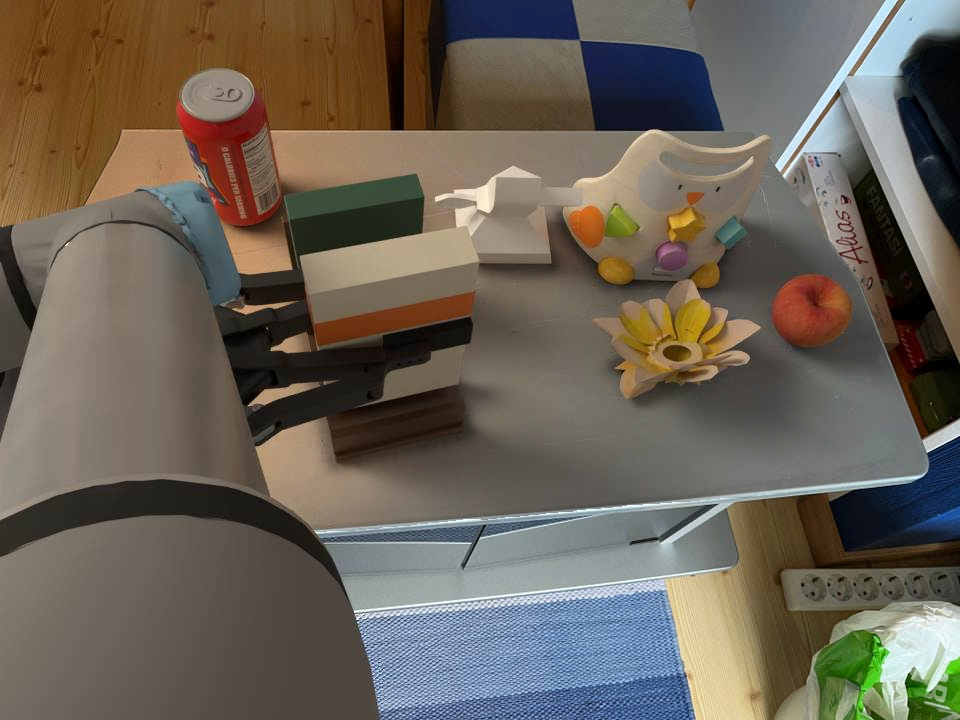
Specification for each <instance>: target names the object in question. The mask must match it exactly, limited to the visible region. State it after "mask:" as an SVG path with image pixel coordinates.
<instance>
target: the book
mask: <svg viewBox="0 0 960 720" xmlns="http://www.w3.org/2000/svg"><path fill="white" fill-rule="evenodd" d="M300 261H301V266H302V272H303V277H304V282H305V291H306V297H307V302H308V307H309V312H310V316H311V320H312V324H313V329H314V334H315V339H316V345H317V350H318V351H322V350H335V349H348V348H361V347H374V346H380V347H382V348H383V335H386V334H390V333H395V332H400V331H405V330H409V329H414V328H419V327H424V326H428V325H433V324H438V323H443V322H447V321H452V320H457V319H462V318H466V317H472V316H471V315H472V314H473V309H474V304H475V298H476V286H477V279H478V275H479V268H480V264H481V263H480V261H479V258H478V255H477V252H476V250H475V247H474V244H473V241H472V239H471V236H470V233H469V230H468V228H467V226H461V227H456V226H455V227H450V228H445V229H440V230H433V231H428V232H423V234H417V235H412V236H406V237H401V238H395V239H389V240H384V241H378V242H373V243H367V244H362V245H356V246H351V247H345V248H340V249H334V250H329V251H323V252H318V253H312V254H307V255H301V256H300ZM466 345H467V344H465V345H461V346H456V347H451V348H447V349H442V350H438V351H433V352H431V360H429V361H428V362H426V363H425V364H420V365H416V366H411V367H407V368H402V369H398V370H393V371H391V372H389V373H388V374H387V375H386V377H385V383H384V394H383V397H382V398H381V399H379V400H377V401H374V402H371V403H368V404H364V405H361V406H365V405H369V404H374V403H378V402H382V401H387V400H391V399H395V398H400V397H404V396H408V395H413V394H417V393H421V392H426V391H430V390H434V389H439V388H443V387H447V386H451V387H452V386H456V385H459V384H460V379H461V374H462V368H463V361H464V356H465V350H466ZM336 381H339V380H335V381H324V385H326V384H329V383H333V382H336ZM361 406H358V407H361ZM355 408H356V407H355Z"/></svg>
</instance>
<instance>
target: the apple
mask: <svg viewBox="0 0 960 720" xmlns="http://www.w3.org/2000/svg"><path fill="white" fill-rule="evenodd" d="M853 310H854V309H853V303H852V299H851V298H850V295H849V293H848V292H847V291H846V290H845V288H844V287H843V286H841V284H839V283H838V282H837V281H836V280H834V279H833V278H831V277H828V276H826V275H822V274H817V273H807V274H806V273H805V274H801V275H798V276H795V277H793V278H792V279H790V280H788V281H787V282H786V283H785V284H783V285H782V287H781V288H780V289H779V290H778V292H777V294H776V296H775V297H774V300H773V303H772V309H771V318H772V319H771V320H772V323H773V327H774V329H775V331H776V332H777V333H778V335H779V336H780V337H781V338H782V339H783V340H784V341H786V342H787V343H788V344H790V345H793V346H796V347H800V348H814V347H819V346H824V345H826V344H829V343H831V342H832V341H834V340H835V339H838V337H840V336H841V335H842V334H843V333H844V332H845V330H846V329H847V327H849V324H850V322H851V320H852V317H853Z"/></svg>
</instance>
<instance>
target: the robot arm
mask: <svg viewBox="0 0 960 720" xmlns="http://www.w3.org/2000/svg"><path fill="white" fill-rule="evenodd" d="M284 303H289V304H285V305H283V306H280V307H276V308H274V307H272V306H271V307H270V306H269V305H275V304H284ZM266 305H267V306H269V307H264V308H262V309H258V310H255V311H253V312H249V313H243V312H241V311H242V310H244V308H245V306H251V307H252V306H253V307H254V306H255V307H257V306H266ZM235 309H237V310H235ZM238 310H239V311H238ZM240 310H241V311H240ZM474 326H475V325H474V322H473V320H472V316H470V317H466V318H462V319H457V320H452V321H447V322H443V323H438V324H433V325H428V326H424V327H419V328H414V329H409V330H405V331H400V332H395V333H390V334H386V335H383V348H382V347H380V346H374V347H361V348H348V349H335V350H322V351H310V350H309V351H299V352H298V351H297V352H285V351H284V350H272V348H275V347H276V346H277V347H278V346H280V345H281V344H283V343H284V341H286V340H287V339H290V338H293V337H295V336H299V335H302V334H304V333H305V334H306V332H308V331H310V330H313V324H312V320H311V316H310V312H309V307H308V302H307V297H306V291H305V282H304V277H303V272H302V269H293V270H292V269H286V270H277V271H276V270H275V271H268V272H260V273H259V272H258V273H251V274H248V273H243V272H239V270H238V267H237V264H236V261H235V258H234V256H233V252H232V249H231V246H230V244H229V241H228V239H227V235H226V232H225V230H224V227H223V225H222V221H221V220H220V219H219V217H218V214H217V211H216V209H215V207H214V205H213V202H212V199H211V196H210V194H209V192H208V191H207V189H206V188H205V187H204V186H202V185H201V184H200V182H197V181H193V180H183V181H179V182H174V183H168V184H163V185H159V186H154V187H153V186H152V187H151V186H141V187H137V188H135V189H134V190H133V191H132V192H129V193H126V194H122V195H118V196H116V197H111V198H108V199H107V198H106V199H104V200H100V201H97V202H92V203H89V204H85V205H82V206H79V207H74V208H71V209H66V210H63V211H59V212H56V213H52V214H48V215H45V216H41V217H37V218H33V219H29V220H27V221H23V222H18V223H15V224H7V225H4V226H0V720H381V715H380V710H379V704H378V699H377V693H376V688H375V687H376V686H375V683H374V678H373V672H372V666H371V663H370V659H369V656H368V653H367V650H366V646H365V643H364V639H363V636H362V633H361V630H360V625H359V623H358V620H357V617H356V614H355V611H354V607H353V605H352V603H351V600H350V598H349V595H348V592H347V589H346V587H345V585H344V582H343V580H342V577H341V574H340V572H339V570H338V567H337V565H336V563H335V560H334V558H333V556H332V555H331V553H330V551H329V549H328V547H327V546H326V544H325V542H324V541H323V540H322V539H321V537H320V536H319V535H318V534H317V532H316V531H315V530H314V529H313V528H312V526H311V525H310V524H309V523H308V522H307V521H305V520H304V519H303V518H302V517H300V515H299V514H298V513H296V512H295V511H294V510H293V509H291V508H289V506H288V507H287V506H286V505H285V504H283V503H282V502H280V501H279V500H277V499H275V498H274V497H271V494H270V491H269V487H268V483H267V481H266V477H265V473H264V470H263V467H262V464H261V460H260V457H259V454H258V451H257V448H258V447H260V446H262V445H263V444H265V443H266V442H268V441H269V440H271V439H272V438H273V437H275V436H277V435H278V434H280V433H281V432H282V431H284V430H288V429H291V428H294V427H297V426H301V425H304V424H308V423H310V422H314V421H316V420H320V419H323V418H326V416H329V415H333V414H336V413H339V412H342V411H345V410H349V409H352V408H355V407H358V406H361V405H364V404H368V403H371V402H374V401H377V400H379V399H381V398H382V397H383V394H384V383H385V377H386V375H387V374H388V373H389V372H391V371H393V370H398V369H402V368H407V367H411V366H416V365H420V364H425V363H426V362H428V361H429V360H431V352H433V351H438V350H442V349H447V348H451V347H456V346H461V345H465V344H466V345H470V344H471V341H472V337H473V331H474ZM466 345H465V346H466ZM335 380H339V381H336V382H333V383H329V384H326V385H323V386H316V387H313V388H310V389H307V390H303V391H301V392H296V393H294V394H290V395H287V396H283V397H280V398H278V399H275V400H272V401H270V402H268V403H265V404H263V403H253V402H254V401H255V400H256V399H257V397H259V396H260V395H261V394H262V393H263V392H264V391H265V390H276V389H286V388H289V387H291V386H292V385H297V384H310V383H318V382H323V381H335ZM252 403H253V404H252ZM250 404H252V405H250Z"/></svg>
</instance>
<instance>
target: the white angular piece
mask: <svg viewBox="0 0 960 720" xmlns="http://www.w3.org/2000/svg"><path fill="white" fill-rule="evenodd" d="M541 185H542V177H540V176H539V175H536V174H533V173H531V172H529V171H526V170H524V169H522V168H519V167H517V166H515V165H512V166H510V167H508V168H507V169H504V170H503V171H501V172H499V173H497V174H495V175H494V176H492V177H490V179H488V181H487V183H486V184H485V185H482V186H479V187H476V188H466V189H465V188H463V189H462V188H461V189H453V193H448V192H447V193H443V194H440V195H437V196H435V197H434V203H435V204H436V205H438V206H439V207H440V208H441V209H447V210H449V209H450V210H454V213H455V214H454V215H455V228H456V227H461V226H467V228H468V230H469V233H470V236H471V239H472V241H473V244H474V247H475V250H476V252H477V255H478V258H479V261H480V263H479V264H533V265H534V264H537V265H538V264H541V265H543V264H544V265H546V264H548V265H549V264H550V265H551V264H552V254H551V247H550V239H549V233H548V232H549V231H548V224H547V217H546V216H547V215H546V210H545V207H564V206H567V207H574V206H582V202H583V188H572V187H565V186H564V187H559V186H541Z"/></svg>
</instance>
